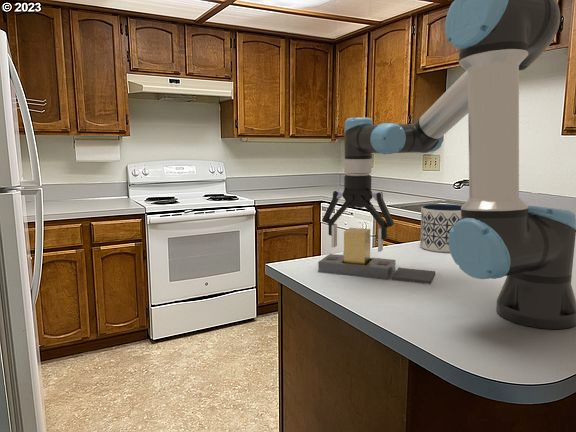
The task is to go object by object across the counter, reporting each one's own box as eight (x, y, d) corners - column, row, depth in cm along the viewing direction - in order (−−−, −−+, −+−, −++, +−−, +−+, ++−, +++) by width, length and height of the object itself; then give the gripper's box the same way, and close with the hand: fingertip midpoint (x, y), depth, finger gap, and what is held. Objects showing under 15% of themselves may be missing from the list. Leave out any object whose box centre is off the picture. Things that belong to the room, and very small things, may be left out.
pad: (430, 284, 117) (430, 281, 116) (391, 279, 121) (391, 276, 121) (435, 273, 125) (435, 271, 125) (398, 270, 130) (398, 267, 130)
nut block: (364, 274, 126) (364, 232, 124) (343, 272, 128) (344, 231, 126) (369, 269, 131) (370, 229, 129) (349, 267, 134) (350, 227, 132)
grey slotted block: (395, 269, 130) (395, 259, 130) (387, 279, 121) (388, 268, 121) (329, 263, 138) (329, 253, 138) (318, 271, 129) (318, 261, 129)
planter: (446, 241, 167) (448, 203, 164) (478, 250, 152) (481, 208, 150) (410, 245, 161) (411, 205, 159) (440, 255, 146) (442, 211, 144)
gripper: (405, 174, 124) (403, 249, 127) (320, 172, 134) (320, 242, 137) (400, 176, 117) (398, 255, 120) (311, 174, 127) (311, 247, 131)
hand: (356, 248), depth 129 cm, fingers open, 13 cm apart
